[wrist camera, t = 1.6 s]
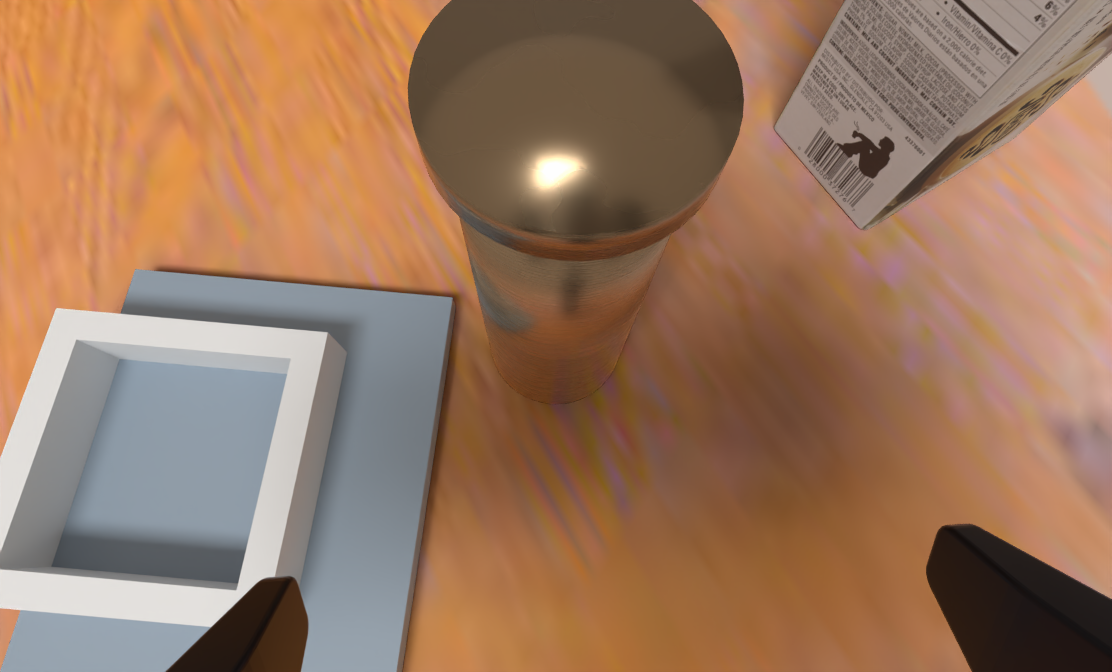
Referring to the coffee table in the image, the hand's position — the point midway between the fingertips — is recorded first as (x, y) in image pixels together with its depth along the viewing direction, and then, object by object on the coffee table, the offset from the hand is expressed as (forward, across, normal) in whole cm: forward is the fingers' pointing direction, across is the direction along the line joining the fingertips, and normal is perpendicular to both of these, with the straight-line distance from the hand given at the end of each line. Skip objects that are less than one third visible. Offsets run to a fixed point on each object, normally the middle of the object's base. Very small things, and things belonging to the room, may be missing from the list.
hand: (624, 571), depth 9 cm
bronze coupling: (+15, 0, +4) cm, 16 cm away
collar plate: (+11, +11, +8) cm, 18 cm away
